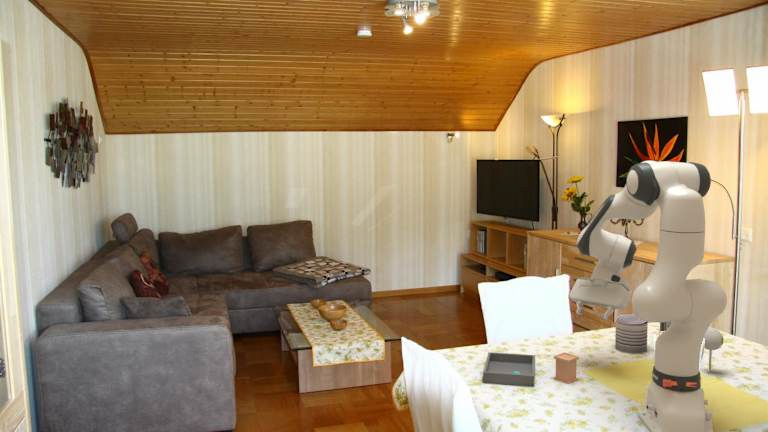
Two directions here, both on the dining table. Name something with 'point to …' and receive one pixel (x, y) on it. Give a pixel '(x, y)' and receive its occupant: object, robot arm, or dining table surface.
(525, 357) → the charcoal tray
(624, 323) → the can
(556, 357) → the terracotta square pedestal
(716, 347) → the lollipop
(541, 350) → the dining table surface
